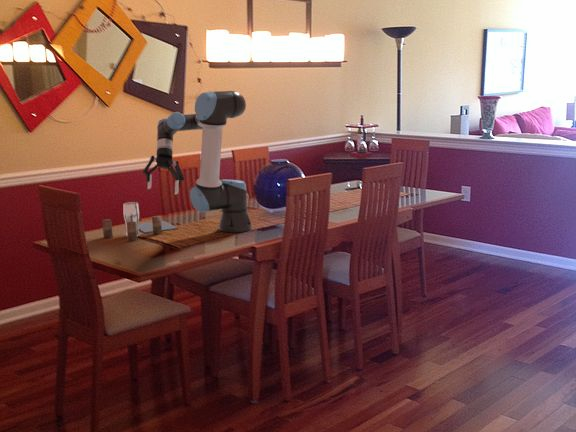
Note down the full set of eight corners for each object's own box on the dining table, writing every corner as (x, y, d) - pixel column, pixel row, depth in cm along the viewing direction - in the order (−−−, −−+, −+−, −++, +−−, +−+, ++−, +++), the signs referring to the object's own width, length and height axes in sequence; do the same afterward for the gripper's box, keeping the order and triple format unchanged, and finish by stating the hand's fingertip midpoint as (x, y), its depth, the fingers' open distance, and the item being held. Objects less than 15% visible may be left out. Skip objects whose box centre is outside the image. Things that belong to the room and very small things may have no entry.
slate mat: (178, 228, 333) (177, 227, 333) (145, 233, 326) (145, 232, 325) (163, 221, 350) (163, 220, 350) (132, 226, 343) (132, 224, 343)
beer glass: (122, 236, 320) (119, 204, 317) (130, 233, 326) (128, 201, 323) (135, 237, 317) (133, 205, 314) (143, 234, 324) (141, 202, 321)
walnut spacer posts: (167, 236, 319) (165, 218, 317) (112, 243, 307) (110, 226, 305) (155, 229, 332) (154, 213, 331) (102, 237, 321) (101, 219, 319)
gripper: (185, 158, 348) (184, 198, 340) (137, 147, 335) (134, 188, 327) (191, 152, 342) (190, 193, 334) (142, 141, 329) (140, 183, 322)
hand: (163, 191), depth 331 cm, fingers open, 13 cm apart
